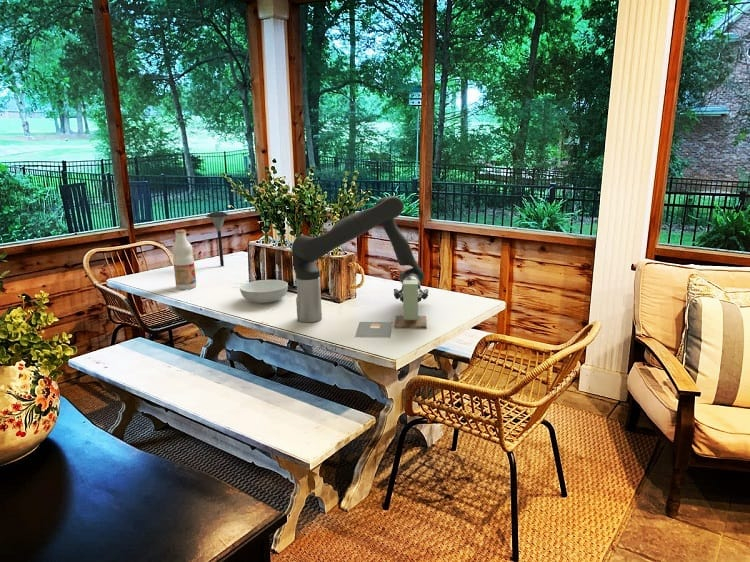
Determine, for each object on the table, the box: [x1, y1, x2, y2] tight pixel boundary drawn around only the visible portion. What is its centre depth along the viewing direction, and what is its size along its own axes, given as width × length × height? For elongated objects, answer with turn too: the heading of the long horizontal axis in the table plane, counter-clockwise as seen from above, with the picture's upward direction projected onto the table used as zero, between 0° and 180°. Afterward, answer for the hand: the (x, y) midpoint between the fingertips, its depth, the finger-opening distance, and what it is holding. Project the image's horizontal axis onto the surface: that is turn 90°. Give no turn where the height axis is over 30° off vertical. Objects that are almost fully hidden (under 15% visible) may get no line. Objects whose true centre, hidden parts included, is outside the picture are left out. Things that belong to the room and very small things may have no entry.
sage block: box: [402, 280, 419, 320], centre depth 216 cm, size 6×6×14 cm
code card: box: [354, 321, 393, 339], centre depth 213 cm, size 13×17×1 cm
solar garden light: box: [206, 211, 230, 267], centre depth 311 cm, size 12×12×30 cm
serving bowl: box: [239, 279, 289, 304], centre depth 251 cm, size 21×21×7 cm
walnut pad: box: [394, 315, 428, 330], centre depth 219 cm, size 12×12×1 cm
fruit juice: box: [171, 229, 197, 290], centre depth 271 cm, size 9×9×28 cm
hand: (410, 299), depth 214 cm, fingers closed on sage block, 5 cm apart
